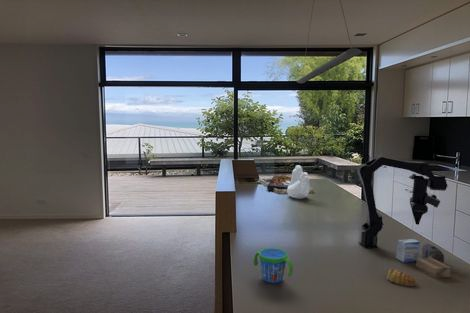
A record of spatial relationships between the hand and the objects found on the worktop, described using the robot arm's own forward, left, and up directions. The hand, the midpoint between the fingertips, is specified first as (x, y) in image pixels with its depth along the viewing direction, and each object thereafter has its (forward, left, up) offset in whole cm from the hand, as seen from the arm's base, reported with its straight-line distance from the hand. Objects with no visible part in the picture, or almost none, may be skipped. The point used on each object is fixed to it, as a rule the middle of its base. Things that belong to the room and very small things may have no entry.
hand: (416, 221), depth 161 cm
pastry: (-29, -27, -14) cm, 42 cm away
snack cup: (-76, -19, -13) cm, 80 cm away
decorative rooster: (-14, +105, -13) cm, 107 cm away
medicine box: (-12, -11, -13) cm, 21 cm away
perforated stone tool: (-3, -13, -14) cm, 19 cm away
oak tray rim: (-9, +149, -13) cm, 150 cm away
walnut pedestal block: (-10, -23, -14) cm, 28 cm away
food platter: (-9, +149, -13) cm, 150 cm away
